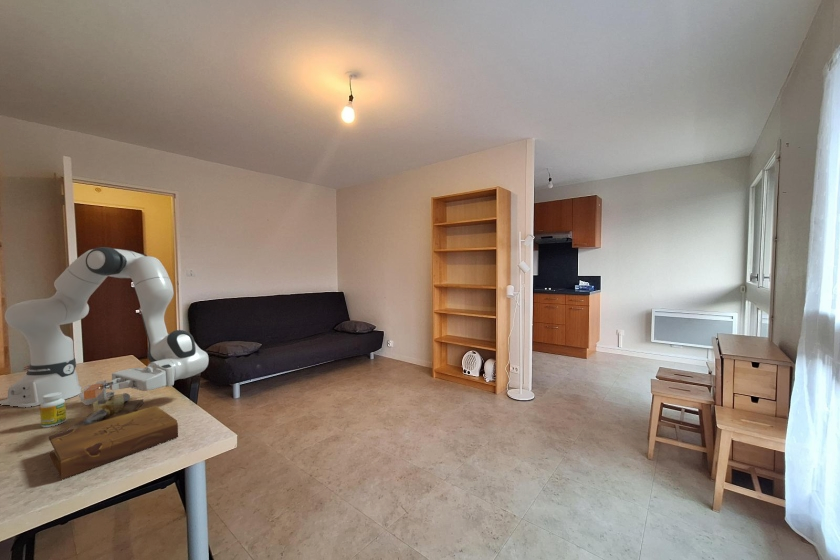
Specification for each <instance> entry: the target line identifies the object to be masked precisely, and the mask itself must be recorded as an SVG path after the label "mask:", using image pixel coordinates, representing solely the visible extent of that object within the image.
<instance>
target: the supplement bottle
mask: <svg viewBox="0 0 840 560" xmlns="http://www.w3.org/2000/svg"><path fill="white" fill-rule="evenodd" d="M61 397H62V393H61V392H58V393H51V394H47V395H45V396H43V401H44V402H43V403H42V404H40V407H39V409H40V410H39V411H40V424H41V425H40V426H41V427H42V428H51V426H52V427H55V425H56V426H58V424H59V425H61V423H62V424H64V423H65V422H66V421H67V411H66V399H62V398H61ZM63 422H64V423H63Z"/></svg>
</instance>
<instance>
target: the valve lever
mask: <svg viewBox="0 0 840 560" xmlns="http://www.w3.org/2000/svg"><path fill="white" fill-rule="evenodd" d="M106 382H107V380H106V379H105V380H99V381H96V382H95V383H94V384H90V385H91V386H90V387H89V388H88V389H86V390H85V391H84V400H85V399H91V398H96V397H97V396H98V405H99V404H105V403H106V402H107V401H108V400H109V399H110V398H112V397H114V395H115V391H108V392H107V389H106V388H104V383H106Z"/></svg>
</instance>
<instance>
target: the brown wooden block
mask: <svg viewBox="0 0 840 560" xmlns="http://www.w3.org/2000/svg"><path fill="white" fill-rule="evenodd" d="M176 437H178V438H179V424H178V420H177V419H176V418H174V417H173V416H172V415H170V414H168V413H167V412H165V411H164V410H162V409H161V408H160V407H159V406H157V405H154V406H150V407H146V408H143V409H140V410H137V411H136V410H135V411H134V412H132V413H128V414H125V415H121V416H118V417H114V418H111V419H107V420H104V421H100V422H97V423H93V424H90V425H86V426H83V427H79V428H76V429H72V430H69V431H67V430H65V431H62V432H59V433H55V434H51V435H49V436H48V440H49V441H50V443H51V446H52V448H53V451H52V452H49V456H50V455H51V456H50V457H51V460H52V462H53V464H54V467H55V466H56V467H55V469H56V468H57V469H56V470H58V471H57V473H58V472H59V473H58V475H59V477H60V479H61V480H62V479H63V480H65V479H64V478H66V479H68V478H70V476H71V477H73V475H74V476H76V474H77V475H79V474H82V473H85V472H87V470H88V471H89V469H90V470H92V468H93V469H95V467H96V468H98V467H100V466H104V465H106V463H107V464H109V463H111V462H114V461H115V462H116V461H117V460H120V459H123V458H126V457H129V456H130V455H134V454H136V452H137V453H140V452H142V451H145V450H147V448H148V449H150V448H153V447H155V446H154V445H156V446H158V445H157V444H159V443H161V444H163V443H162V442H164V443H166V442H165V441H167V442H169V441H171V440H170V439H172V440H174V439H173V438H175V439H177V438H176ZM168 440H169V441H168ZM159 445H160V444H159ZM152 446H153V447H152ZM149 447H150V448H149ZM144 449H145V450H144ZM141 450H142V451H141ZM133 453H134V454H133ZM128 455H129V456H128ZM125 456H126V457H125ZM84 471H85V472H84ZM81 472H82V473H81ZM67 477H68V478H67Z"/></svg>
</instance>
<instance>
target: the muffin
mask: <svg viewBox="0 0 840 560" xmlns="http://www.w3.org/2000/svg"><path fill="white" fill-rule="evenodd" d="M91 385H92V384H89V385H87V386H85V387H84V388H83V390H82V392H81V393H80V394H78V398H79V400H80V401H81V402H82V403H83V404H84V405H85V406H88V405H89V404H91V405H93V403H94V402H96V401H97V400H98V396H97V397H96V398H91V399H85V400H84V391H85V390H86V389H88V388H89V387H90V386H91ZM89 406H90V405H89Z"/></svg>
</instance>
